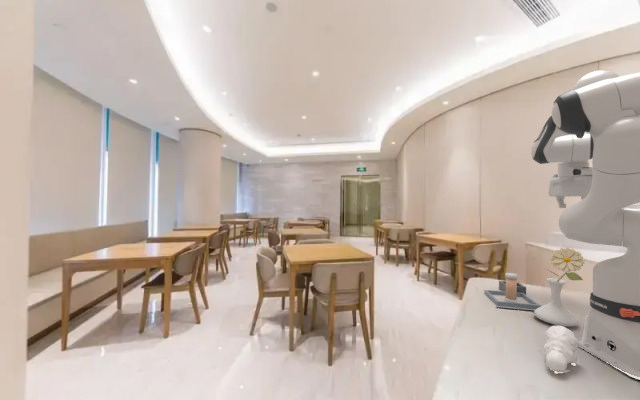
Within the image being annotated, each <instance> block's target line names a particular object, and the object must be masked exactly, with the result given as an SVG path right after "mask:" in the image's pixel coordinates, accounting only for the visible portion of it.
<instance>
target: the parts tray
mask: <svg viewBox="0 0 640 400" xmlns="http://www.w3.org/2000/svg"><path fill="white" fill-rule="evenodd" d="M484 295H485V296H487V298H489V300H490V301H492V302H493V304H495V305H496V306H495V308H496V309H498V308H499V309H501V310H508V311H509V310H510V311H518V310H519V312H520V311H522V312H530V313H531V312H532V313H534V311H535V310H536V309H537V308H539V307H541V306H542V305H541V304H539V303H538V302H537V301H535V300H534V299H532V298H531V297H529V296H528V295H527V294H526V295H525V294H524V293H518V292H517V298H522V299H523V300H525V301H526V302H527V303H523V302H517V303H514V302H506V301H499V300H498V299H497V298H496V297H495V296H502V297H504V296H505V297H506V291H501V290H494V289H493V290H491V289H484Z"/></svg>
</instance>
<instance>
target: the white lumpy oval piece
mask: <svg viewBox="0 0 640 400" xmlns="http://www.w3.org/2000/svg"><path fill="white" fill-rule="evenodd" d="M545 336H546V340H547V341H546V343H545V344H544V346H543V352H544V354H546V356H545V361H544V360H542V362H543V363H544V364H545V365H546V367H549V368H551V369H552V370H554V371H557V372H565V373H569V372H570V371H571V370H570V369H569V370H568V369H567V366H568V365H570V364H569V363H575V364H577V361H578V356H576V355H575V352H576V351H578V347H579V346H578V345H579V342H578V341H579V340H578V339H577V337H576V335H575V333H574V332H573V331H572V330H571V329H569V328H567V327H566V326H558V325H551V326H549V328H548V330H546V331H545ZM549 368H548V369H549ZM551 369H550V370H551ZM552 370H551V371H552Z"/></svg>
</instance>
